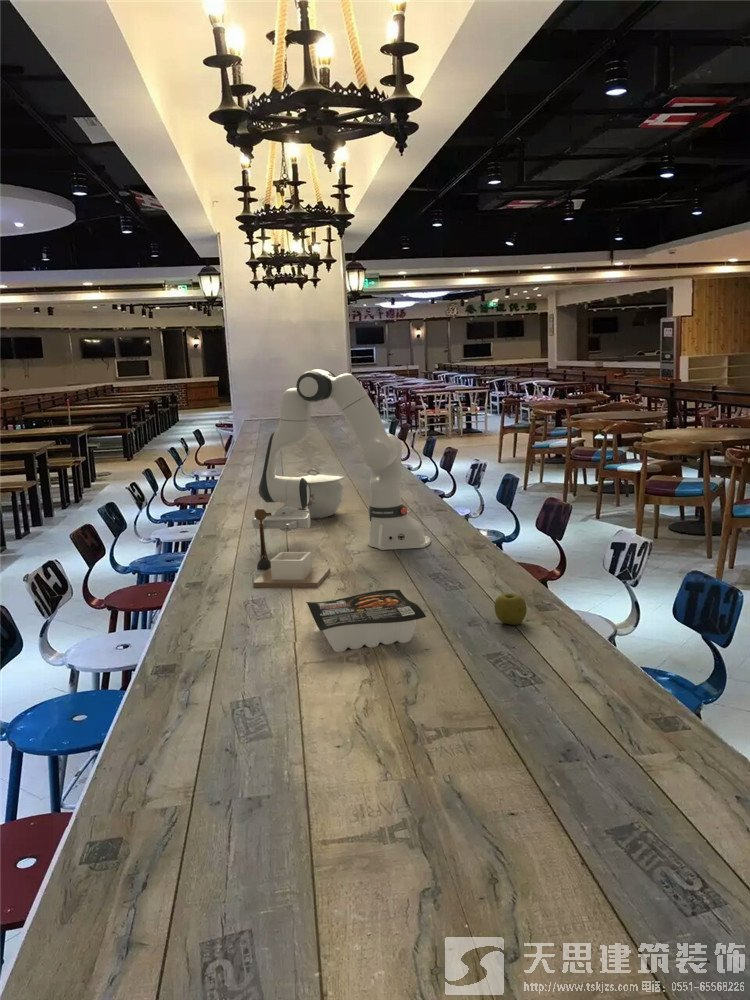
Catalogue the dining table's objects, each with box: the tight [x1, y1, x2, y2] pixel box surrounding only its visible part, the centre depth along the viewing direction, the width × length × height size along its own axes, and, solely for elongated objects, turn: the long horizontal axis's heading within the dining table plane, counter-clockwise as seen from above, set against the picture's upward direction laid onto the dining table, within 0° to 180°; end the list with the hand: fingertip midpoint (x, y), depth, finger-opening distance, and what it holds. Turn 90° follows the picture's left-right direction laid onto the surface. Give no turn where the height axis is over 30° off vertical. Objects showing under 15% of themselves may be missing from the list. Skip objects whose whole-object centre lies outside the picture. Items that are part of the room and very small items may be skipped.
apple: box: [494, 593, 528, 626], centre depth 192 cm, size 8×8×7 cm
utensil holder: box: [252, 551, 331, 589], centre depth 239 cm, size 20×16×8 cm
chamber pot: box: [286, 467, 346, 520], centre depth 333 cm, size 28×28×21 cm
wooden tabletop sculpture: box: [254, 508, 272, 571], centre depth 253 cm, size 6×5×20 cm
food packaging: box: [305, 588, 427, 653], centre depth 189 cm, size 25×8×23 cm
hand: (274, 526), depth 264 cm, fingers open, 8 cm apart
